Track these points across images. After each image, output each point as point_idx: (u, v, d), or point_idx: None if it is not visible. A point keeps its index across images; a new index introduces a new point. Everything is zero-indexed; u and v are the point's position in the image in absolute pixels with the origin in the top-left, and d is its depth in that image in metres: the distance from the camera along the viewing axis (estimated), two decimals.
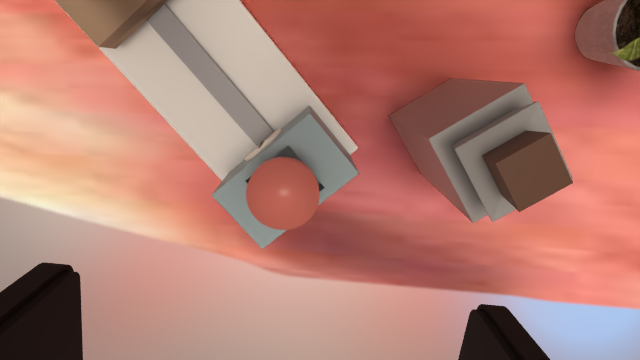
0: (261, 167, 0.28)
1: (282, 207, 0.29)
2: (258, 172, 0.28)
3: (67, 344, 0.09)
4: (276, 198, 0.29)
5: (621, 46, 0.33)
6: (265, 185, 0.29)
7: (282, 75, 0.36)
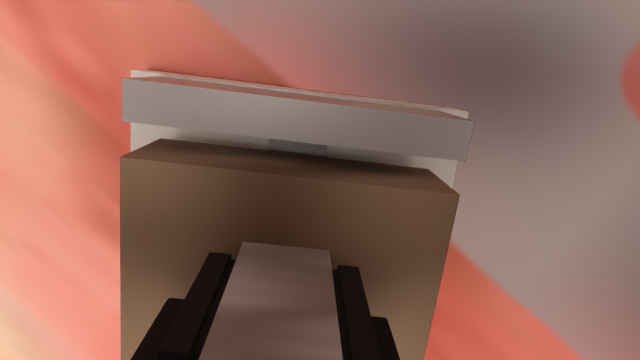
0: None
1: None
2: None
3: None
4: None
5: None
6: None
7: None
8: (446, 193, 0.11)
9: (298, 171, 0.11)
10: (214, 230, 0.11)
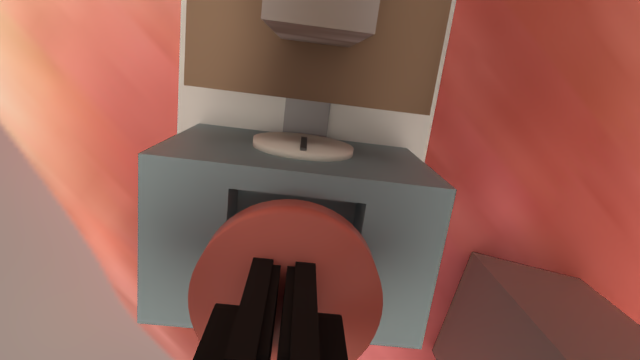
0: (304, 218, 0.10)
1: None
2: (287, 221, 0.10)
3: None
4: None
5: None
6: (273, 256, 0.10)
7: None
8: None
9: None
10: None
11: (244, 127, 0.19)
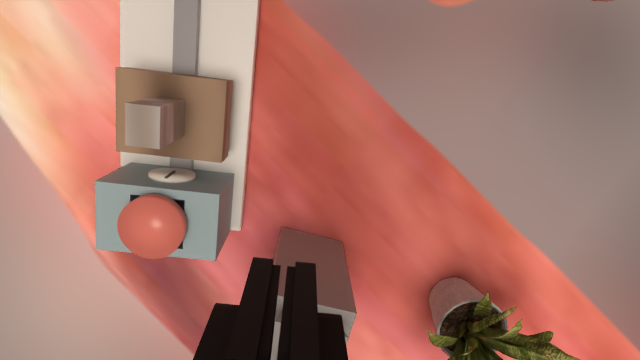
0: (153, 199, 0.32)
1: (142, 235, 0.33)
2: (148, 200, 0.32)
3: None
4: (144, 226, 0.32)
5: (444, 324, 0.41)
6: (144, 212, 0.32)
7: (234, 137, 0.39)
8: (222, 80, 0.34)
9: (175, 74, 0.34)
10: (146, 92, 0.34)
11: (153, 164, 0.40)
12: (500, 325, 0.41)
